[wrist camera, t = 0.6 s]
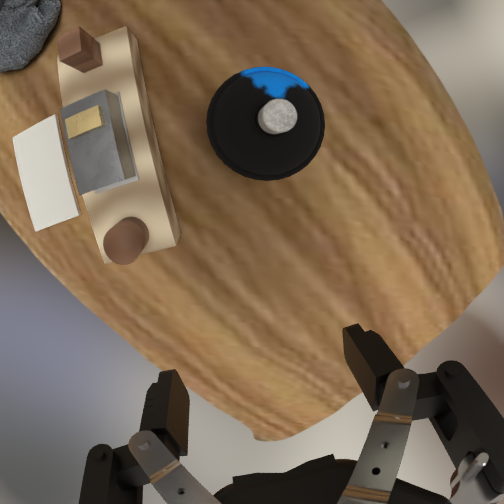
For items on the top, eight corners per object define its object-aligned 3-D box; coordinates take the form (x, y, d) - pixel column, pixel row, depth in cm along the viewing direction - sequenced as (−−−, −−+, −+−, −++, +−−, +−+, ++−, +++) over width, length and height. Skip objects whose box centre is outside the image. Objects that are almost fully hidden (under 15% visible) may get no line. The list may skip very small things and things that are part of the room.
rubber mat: (15, 137, 29) (12, 137, 29) (57, 114, 30) (55, 114, 29) (38, 230, 34) (35, 231, 34) (81, 214, 35) (78, 215, 34)
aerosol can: (280, 167, 36) (347, 190, 17) (212, 168, 35) (204, 189, 16) (280, 102, 33) (348, 56, 14) (211, 101, 32) (204, 46, 13)
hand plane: (74, 65, 28) (31, 44, 17) (137, 39, 28) (109, 5, 18) (117, 250, 37) (85, 286, 26) (181, 233, 37) (167, 266, 27)
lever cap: (77, 112, 25) (56, 108, 21) (118, 95, 26) (101, 87, 21) (94, 189, 29) (76, 196, 24) (136, 175, 29) (122, 180, 24)
